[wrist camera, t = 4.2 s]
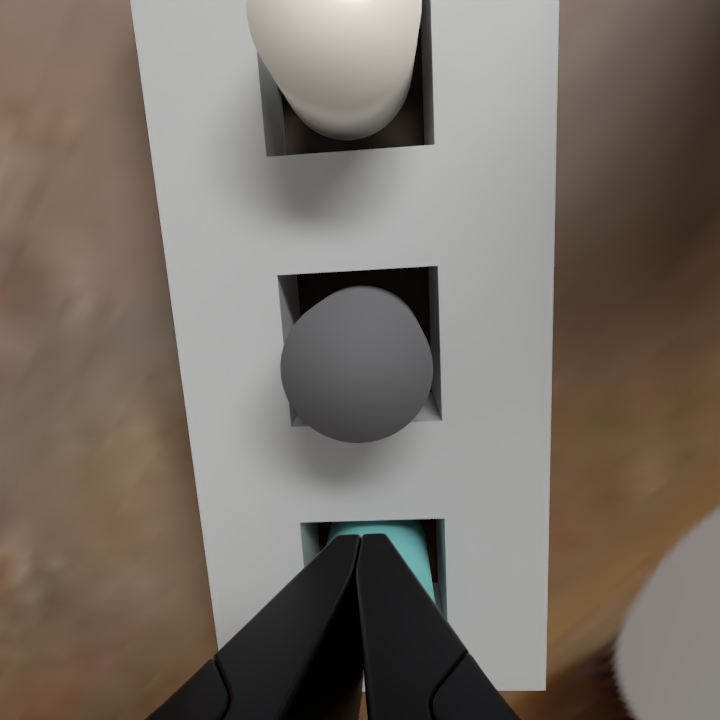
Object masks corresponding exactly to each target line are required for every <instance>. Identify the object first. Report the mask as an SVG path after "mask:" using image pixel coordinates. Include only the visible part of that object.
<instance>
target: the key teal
mask: <svg viewBox="0 0 720 720" xmlns="http://www.w3.org/2000/svg"><path fill="white" fill-rule="evenodd" d="M373 533H384V534H386V535H387V536H388V537H389V539H390V540H391V542H392V543H393V544H394V546H395V547H396V549H397V550H398V552H399V553H400V554H401V556H402V557H403V559H404V560H405V562H406V563H407V564H408V566H409V567H410V569H411V570H412V571H413V573H414V574H415V576H416V577H417V579H418V580H419V581H420V583H421V584H422V586H423V587H424V589H425V590H426V591H427V593H428V594H429V596H430V597H431V598H432V600H433V601H434V603H435V598H434V591H433V584H432V577H431V571H430V564H429V557H428V550H427V543H426V536H425V532H424V528H423V526H422V524H421V522H420V520H419V519H410V520H375V521H339V522H332V524H331V526H330V529H329V533H328V538H327V543H326V546H327V545H328V544H329V543H330V542H331V541H332V540H333V539H334V538H335V537H336V536H337V535H347V534H358V535H360V536H361V538H362V536H363V535H364V534H373Z"/></svg>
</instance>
